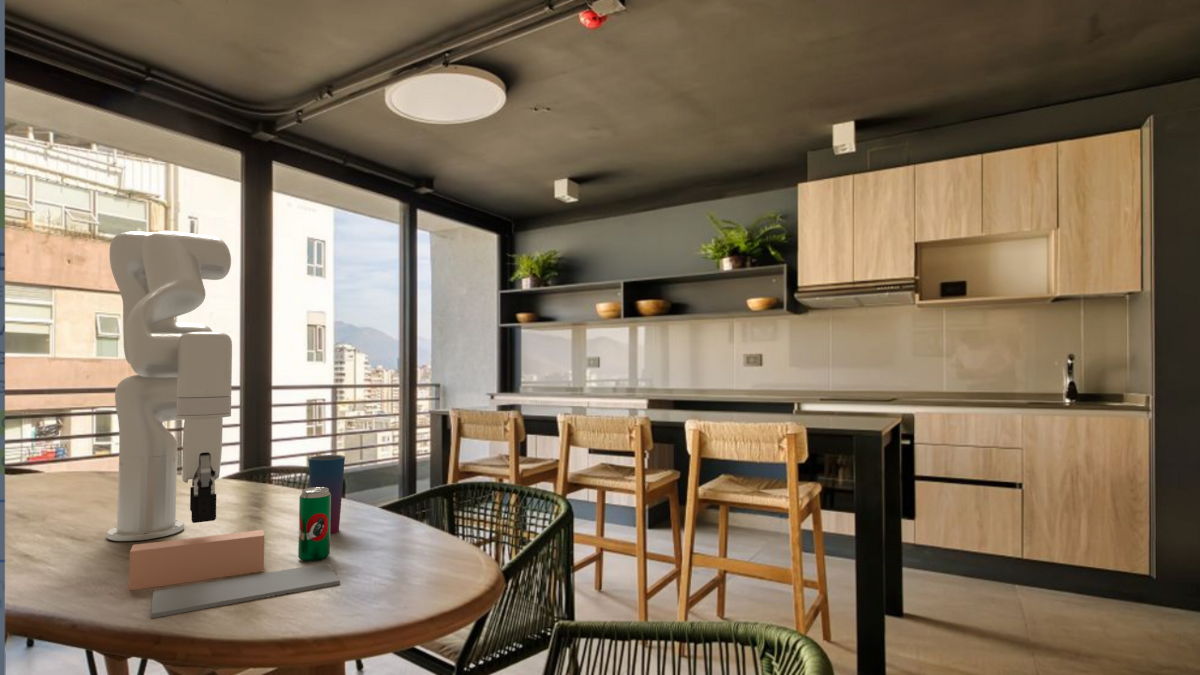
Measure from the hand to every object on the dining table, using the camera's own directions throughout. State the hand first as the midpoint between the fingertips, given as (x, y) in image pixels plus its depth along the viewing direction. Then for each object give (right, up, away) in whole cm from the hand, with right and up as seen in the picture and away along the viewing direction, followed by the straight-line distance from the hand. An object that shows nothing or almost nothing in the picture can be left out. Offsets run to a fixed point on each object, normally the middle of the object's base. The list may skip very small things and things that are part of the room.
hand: (202, 515), depth 102 cm
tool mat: (+11, -10, -6) cm, 15 cm away
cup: (+8, -11, +26) cm, 30 cm away
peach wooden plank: (-1, -10, 0) cm, 10 cm away
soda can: (+14, -10, +10) cm, 20 cm away
